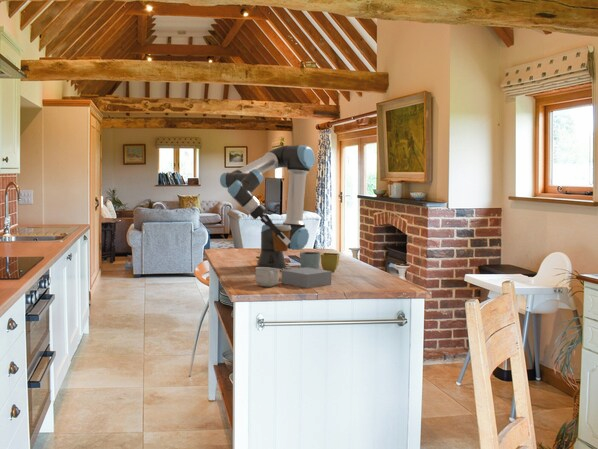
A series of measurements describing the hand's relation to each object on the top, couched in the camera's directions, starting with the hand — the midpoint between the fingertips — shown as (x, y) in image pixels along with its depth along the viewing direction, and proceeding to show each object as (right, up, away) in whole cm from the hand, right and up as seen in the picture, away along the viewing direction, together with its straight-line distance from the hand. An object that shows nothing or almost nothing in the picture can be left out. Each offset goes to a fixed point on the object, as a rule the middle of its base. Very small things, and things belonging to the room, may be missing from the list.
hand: (287, 242), depth 312 cm
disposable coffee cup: (-3, -4, 0) cm, 5 cm away
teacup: (-9, -19, -21) cm, 30 cm away
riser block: (+9, -19, -12) cm, 24 cm away
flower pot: (+21, -16, +28) cm, 39 cm away
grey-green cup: (+10, -17, +7) cm, 21 cm away
